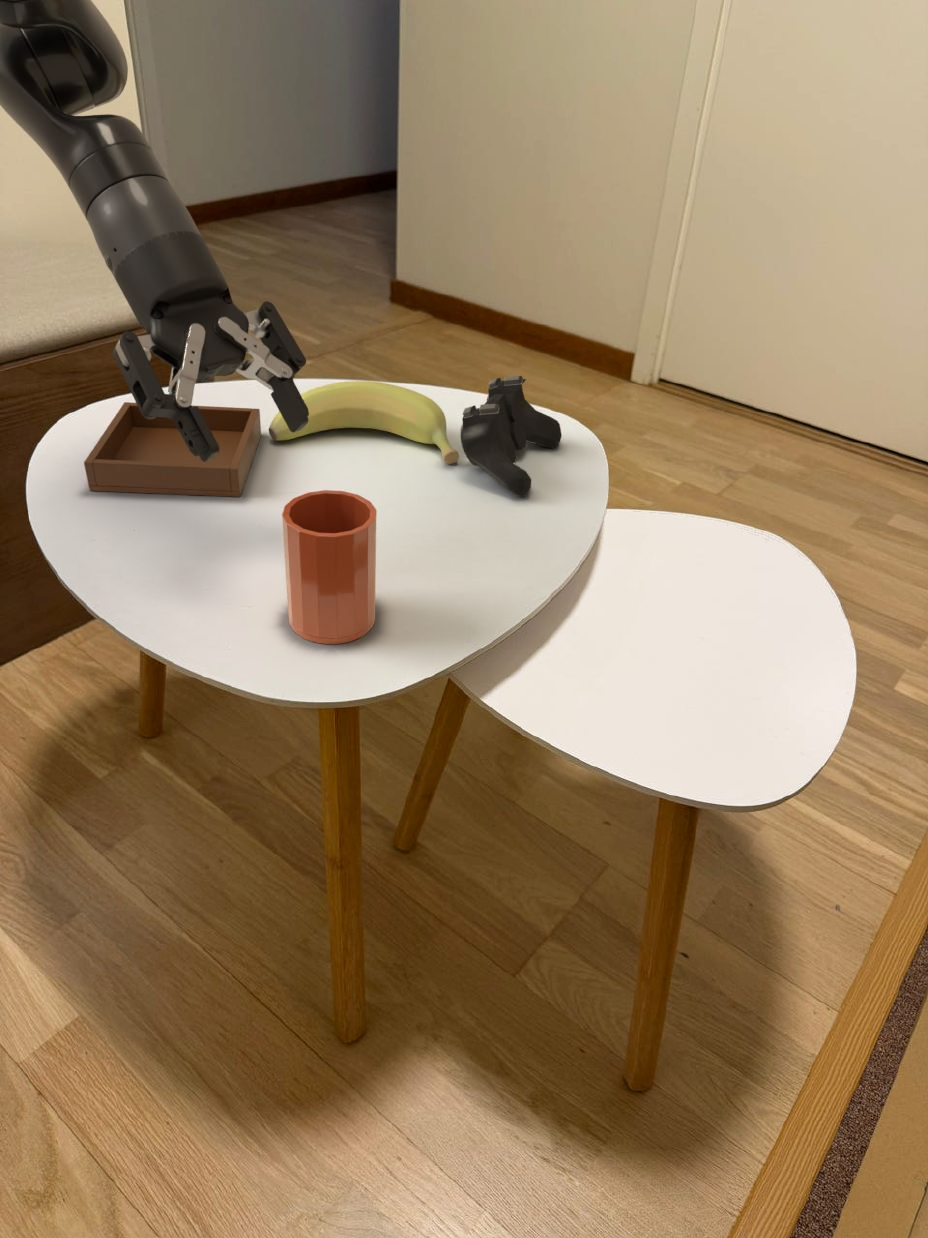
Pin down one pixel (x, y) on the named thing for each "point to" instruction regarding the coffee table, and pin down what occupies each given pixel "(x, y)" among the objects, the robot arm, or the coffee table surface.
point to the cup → (330, 565)
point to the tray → (173, 454)
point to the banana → (371, 413)
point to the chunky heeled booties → (506, 433)
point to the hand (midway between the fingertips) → (258, 441)
